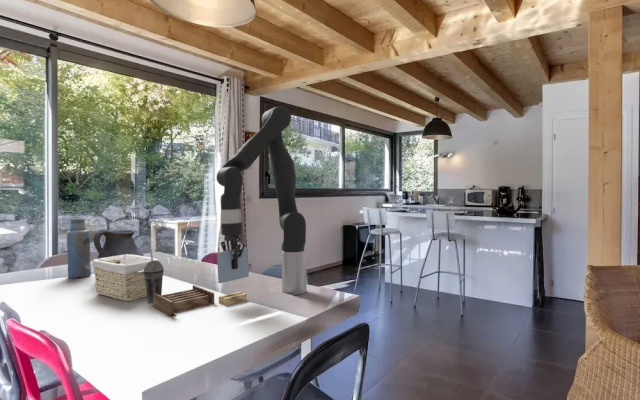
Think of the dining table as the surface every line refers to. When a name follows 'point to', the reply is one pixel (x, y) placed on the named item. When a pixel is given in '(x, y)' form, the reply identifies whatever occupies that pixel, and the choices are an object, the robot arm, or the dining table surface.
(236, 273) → the plate
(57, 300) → the dining table surface
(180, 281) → the dining table surface
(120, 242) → the pitcher
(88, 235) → the bottle
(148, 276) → the beverage cup
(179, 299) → the rack
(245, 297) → the plate stand
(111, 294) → the storage basket
